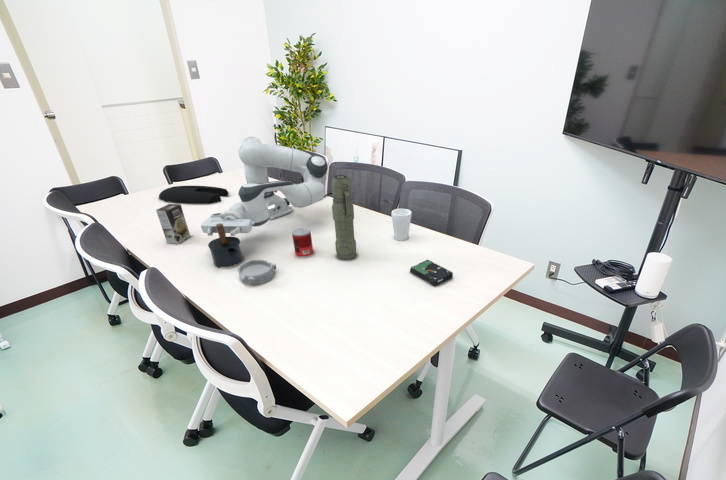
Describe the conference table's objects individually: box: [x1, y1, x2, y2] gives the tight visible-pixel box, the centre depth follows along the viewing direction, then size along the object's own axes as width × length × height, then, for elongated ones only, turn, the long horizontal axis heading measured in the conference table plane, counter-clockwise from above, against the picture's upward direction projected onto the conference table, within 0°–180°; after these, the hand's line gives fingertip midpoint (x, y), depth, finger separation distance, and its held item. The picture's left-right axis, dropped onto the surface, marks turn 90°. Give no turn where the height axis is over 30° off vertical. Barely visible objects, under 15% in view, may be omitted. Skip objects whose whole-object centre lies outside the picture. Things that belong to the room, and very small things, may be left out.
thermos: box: [331, 174, 357, 261], centre depth 163 cm, size 9×12×35 cm
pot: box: [209, 244, 244, 269], centre depth 165 cm, size 11×17×8 cm
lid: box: [207, 224, 241, 250], centre depth 161 cm, size 12×12×9 cm
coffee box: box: [155, 203, 191, 245], centre depth 181 cm, size 9×6×16 cm
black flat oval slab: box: [158, 185, 229, 205], centre depth 234 cm, size 25×41×5 cm, turn 82°
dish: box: [237, 259, 277, 286], centre depth 155 cm, size 14×14×5 cm
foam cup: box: [390, 208, 413, 241], centre depth 186 cm, size 10×9×13 cm
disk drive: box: [409, 259, 454, 287], centre depth 158 cm, size 10×3×15 cm
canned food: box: [291, 227, 314, 258], centre depth 171 cm, size 8×8×11 cm
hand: (220, 234), depth 159 cm, fingers open, 8 cm apart
